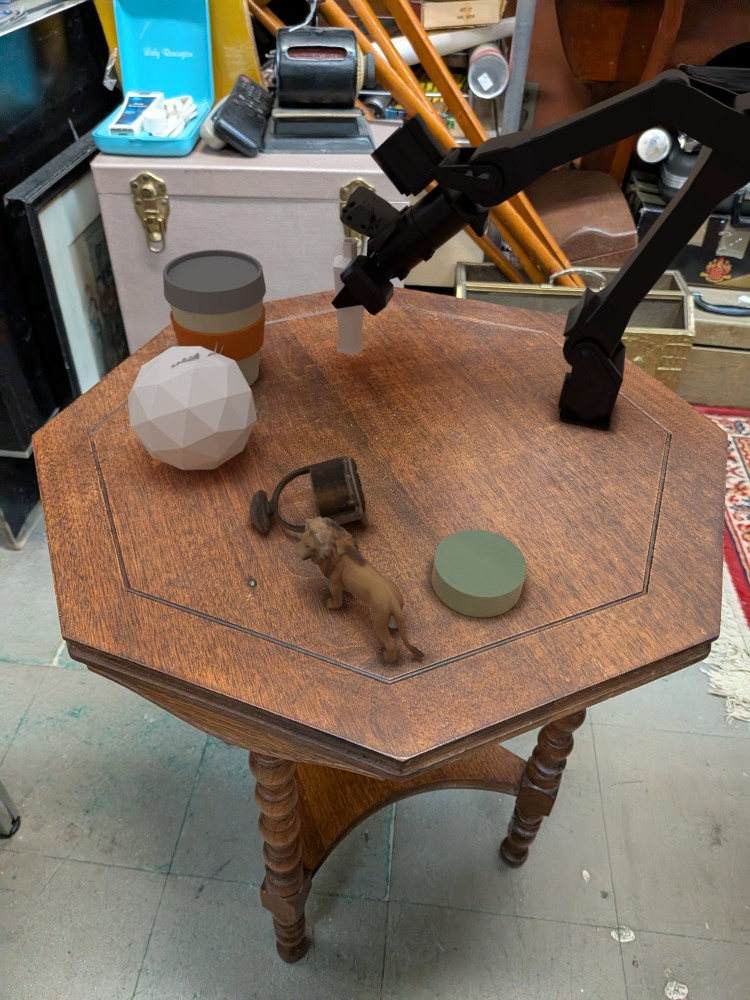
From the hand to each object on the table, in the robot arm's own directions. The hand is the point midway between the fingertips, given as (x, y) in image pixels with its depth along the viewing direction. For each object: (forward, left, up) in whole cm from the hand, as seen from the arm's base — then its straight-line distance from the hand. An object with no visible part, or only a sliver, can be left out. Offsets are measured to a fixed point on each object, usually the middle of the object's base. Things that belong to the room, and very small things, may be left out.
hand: (340, 297), depth 95 cm
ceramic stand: (-26, +34, -10) cm, 44 cm away
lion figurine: (-16, +42, -10) cm, 46 cm away
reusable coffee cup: (+14, +8, -10) cm, 19 cm away
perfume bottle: (-1, 0, -7) cm, 7 cm away
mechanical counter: (-7, +30, -10) cm, 33 cm away
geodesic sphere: (+9, +25, -10) cm, 28 cm away
